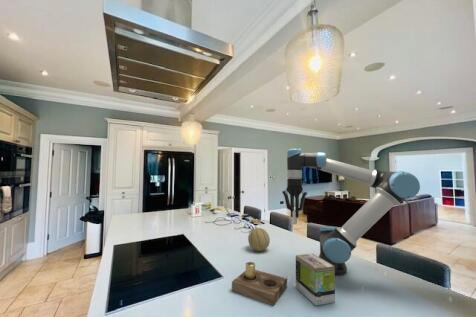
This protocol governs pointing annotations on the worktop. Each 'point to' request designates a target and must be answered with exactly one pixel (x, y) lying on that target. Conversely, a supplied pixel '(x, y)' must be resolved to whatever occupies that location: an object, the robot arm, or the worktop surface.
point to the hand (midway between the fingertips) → (294, 223)
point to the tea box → (315, 278)
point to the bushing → (250, 271)
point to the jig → (261, 286)
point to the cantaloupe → (258, 239)
